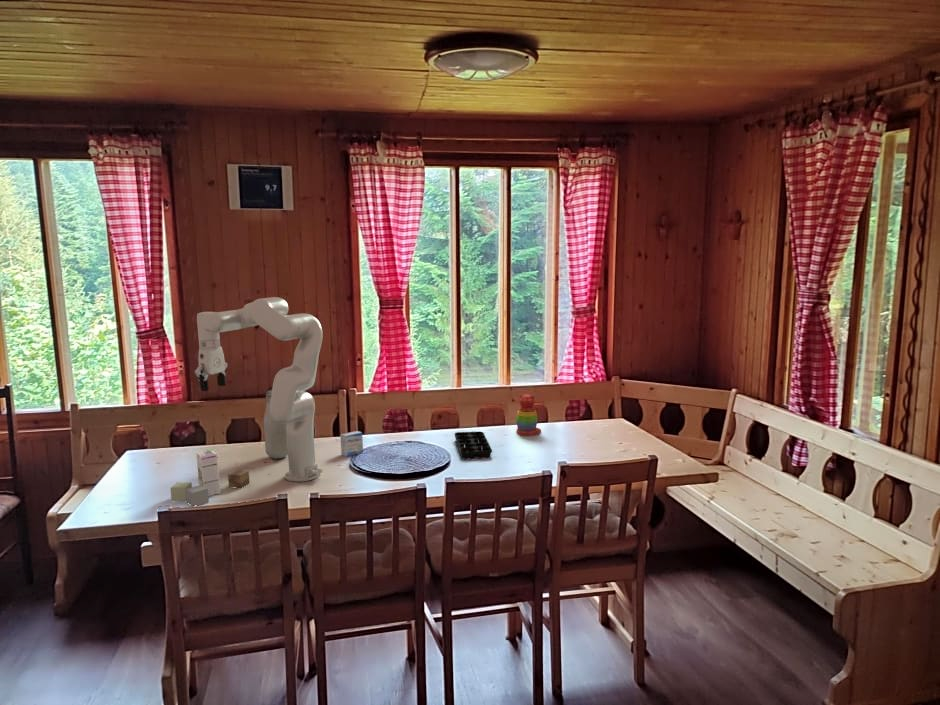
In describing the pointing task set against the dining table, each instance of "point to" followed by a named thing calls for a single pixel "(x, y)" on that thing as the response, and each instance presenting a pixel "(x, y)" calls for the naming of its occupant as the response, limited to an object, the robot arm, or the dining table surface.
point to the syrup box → (208, 471)
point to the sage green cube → (180, 491)
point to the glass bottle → (274, 434)
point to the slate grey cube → (197, 495)
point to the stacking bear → (527, 417)
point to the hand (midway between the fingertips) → (213, 388)
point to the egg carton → (473, 445)
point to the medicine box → (351, 443)
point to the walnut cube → (238, 478)
